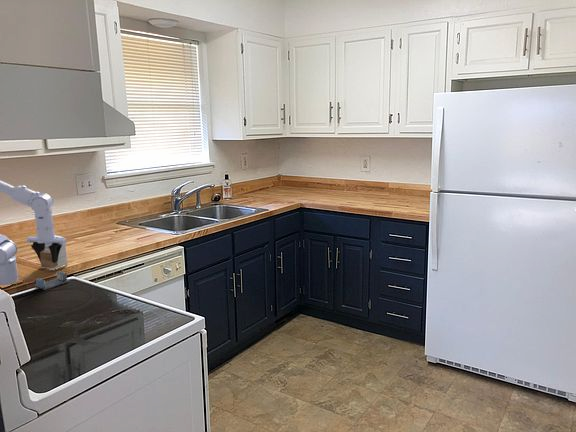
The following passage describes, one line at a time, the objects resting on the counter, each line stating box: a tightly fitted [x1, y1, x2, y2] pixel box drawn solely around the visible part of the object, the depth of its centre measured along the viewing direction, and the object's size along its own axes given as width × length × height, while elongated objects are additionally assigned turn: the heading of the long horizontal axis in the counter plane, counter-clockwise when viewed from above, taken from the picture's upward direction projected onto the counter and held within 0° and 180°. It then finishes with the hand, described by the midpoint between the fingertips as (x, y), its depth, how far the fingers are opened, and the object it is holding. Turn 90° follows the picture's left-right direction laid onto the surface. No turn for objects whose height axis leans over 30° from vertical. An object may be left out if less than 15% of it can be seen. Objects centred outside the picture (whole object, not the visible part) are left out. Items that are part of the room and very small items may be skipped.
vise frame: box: [34, 270, 71, 291], centre depth 174 cm, size 6×10×3 cm, turn 149°
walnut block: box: [40, 249, 58, 268], centre depth 174 cm, size 3×4×6 cm
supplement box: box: [39, 234, 68, 271], centre depth 190 cm, size 7×7×13 cm
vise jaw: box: [35, 278, 46, 289], centre depth 170 cm, size 4×2×3 cm, turn 59°
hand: (48, 261), depth 174 cm, fingers closed on walnut block, 4 cm apart
